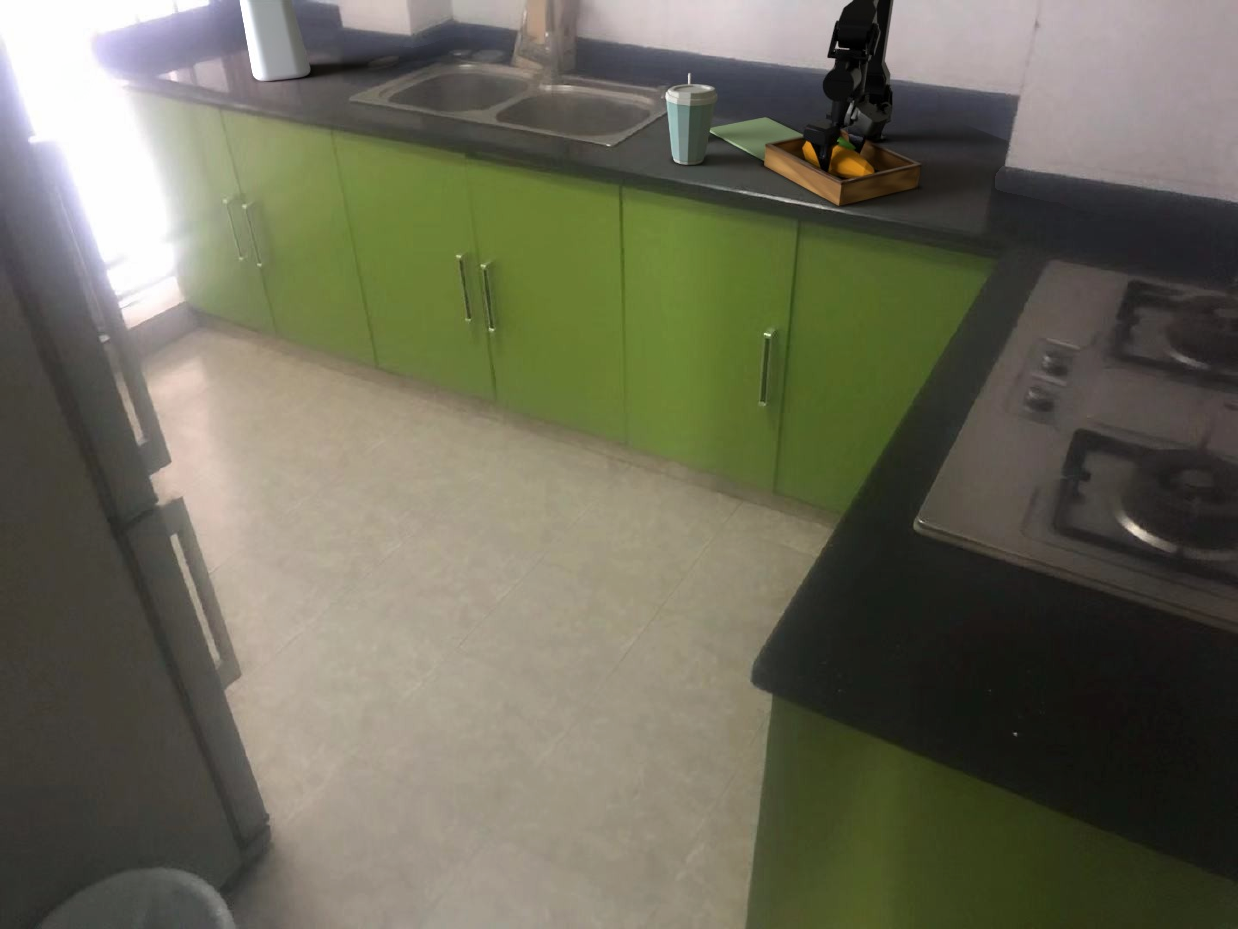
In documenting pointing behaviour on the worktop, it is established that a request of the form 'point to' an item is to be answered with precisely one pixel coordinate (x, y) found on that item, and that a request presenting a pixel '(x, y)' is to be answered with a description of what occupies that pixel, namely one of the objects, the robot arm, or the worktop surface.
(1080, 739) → the worktop surface
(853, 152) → the corn
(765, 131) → the mat
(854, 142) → the robot arm
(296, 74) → the plastic bottle
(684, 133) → the disposable coffee cup
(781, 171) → the wooden tray
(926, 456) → the worktop surface
